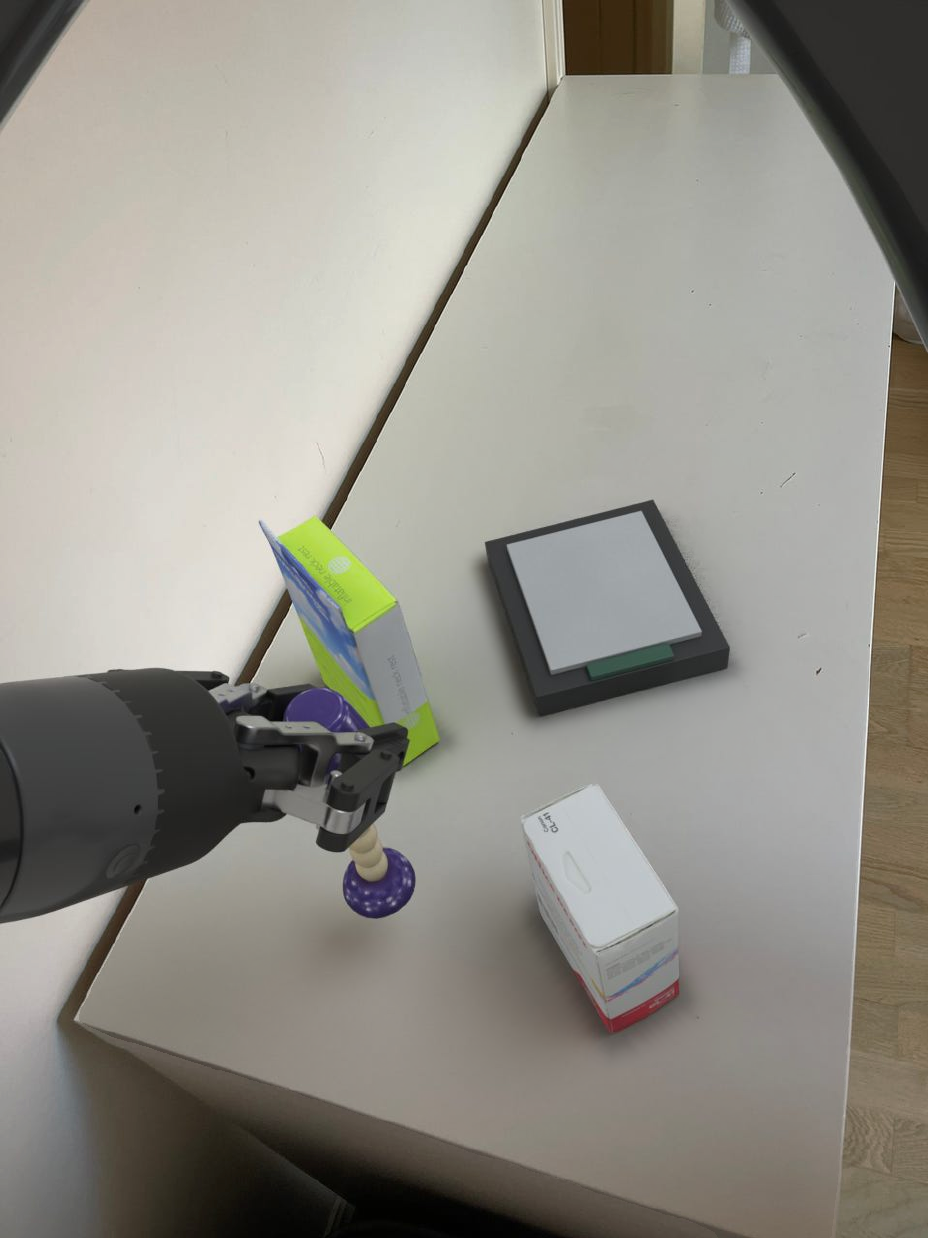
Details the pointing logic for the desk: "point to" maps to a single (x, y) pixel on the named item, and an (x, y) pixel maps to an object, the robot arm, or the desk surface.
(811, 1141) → the desk surface
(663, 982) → the ink box
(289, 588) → the box
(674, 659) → the scale
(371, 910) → the toy lamp
